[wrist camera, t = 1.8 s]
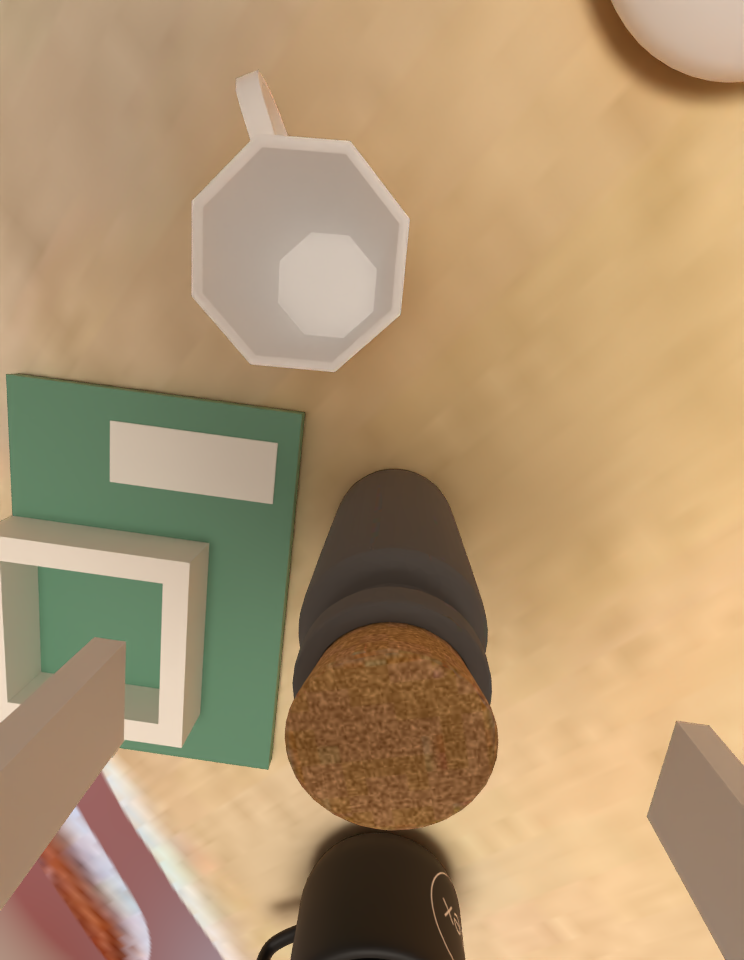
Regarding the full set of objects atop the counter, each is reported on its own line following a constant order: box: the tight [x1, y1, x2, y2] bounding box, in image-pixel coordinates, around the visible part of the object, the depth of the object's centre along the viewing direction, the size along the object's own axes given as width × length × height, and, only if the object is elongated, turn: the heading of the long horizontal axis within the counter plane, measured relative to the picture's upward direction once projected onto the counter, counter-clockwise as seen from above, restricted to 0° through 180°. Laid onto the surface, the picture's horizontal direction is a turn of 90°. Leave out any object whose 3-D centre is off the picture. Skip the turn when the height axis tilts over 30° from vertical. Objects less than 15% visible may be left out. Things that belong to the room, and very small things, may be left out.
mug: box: [257, 833, 465, 960], centre depth 28 cm, size 12×9×7 cm
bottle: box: [285, 469, 498, 830], centre depth 19 cm, size 6×6×15 cm
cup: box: [192, 70, 410, 372], centre depth 19 cm, size 7×10×8 cm
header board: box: [0, 374, 305, 770], centre depth 26 cm, size 20×14×3 cm
